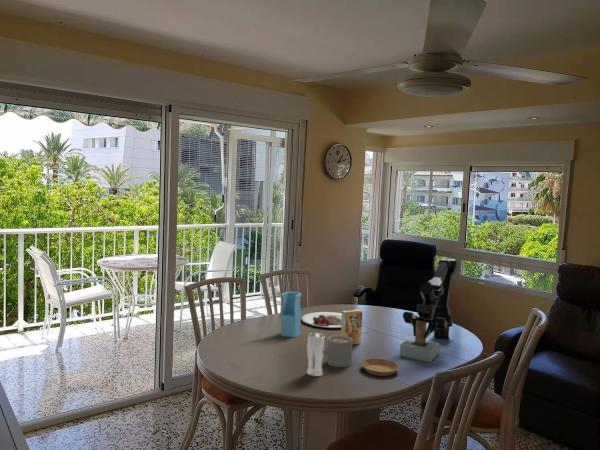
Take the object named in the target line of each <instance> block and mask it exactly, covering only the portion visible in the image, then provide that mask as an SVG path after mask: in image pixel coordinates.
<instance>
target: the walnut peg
mask: <svg viewBox="0 0 600 450" xmlns="http://www.w3.org/2000/svg"><path fill="white" fill-rule="evenodd" d="M427 324H428V323H427V322H426V321H421V320H418V321H416V333H415V336H414V338H415V345H418V346H423V347H425V341H427V338H426V339H425V338H424V336H425V333H426V330H427Z"/></svg>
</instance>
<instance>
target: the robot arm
mask: <svg viewBox="0 0 600 450" xmlns="http://www.w3.org/2000/svg"><path fill="white" fill-rule="evenodd" d="M459 266H460V265H459V261H457V259H455V258H446V257H443V258H441V259H439V260H438V266H437V268H436V270H435V272H434V276H433V278H431V279H429V280H428V281H427V282H426V283H424V284H422V285H421V286H420V287H419V291H420V295H421V297H422V300H423V303H418V304H417V306H416V312H417V315H414V313H413V312H412V311H404V312H403V313H402V318H403V321H404V323H406V324H409V325H410V324H411V326H412V331H413V337H415V333H416V321H418V320H421V321H426V322H427V323H426V324H428V325H427V327H426V333H425V336H424V338H425V339H426V340H427V338H428V337H429V336H430V335H431V334H432V333H433V336H434V337H435V339H445V340H446V339H447V340H448V339H449V340H450V327H453V318H452V314H451V309H450V307H449V302H450V295H451V289H452V281H453V277H454V276H455V275H456V274H457V270H458V269H459ZM437 297H438V298H439V300H438V298H437Z"/></svg>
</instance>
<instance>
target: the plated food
mask: <svg viewBox="0 0 600 450" xmlns="http://www.w3.org/2000/svg"><path fill="white" fill-rule="evenodd" d="M301 320H302V322H304V323H306V324H308V325H310V326H314V327H318V328H324V329H341V322H342V312H333V311H331V312H330V311H318V312H315V311H314V312H310V313H305V314H304V315H302V316H301Z"/></svg>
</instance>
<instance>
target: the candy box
mask: <svg viewBox="0 0 600 450" xmlns="http://www.w3.org/2000/svg"><path fill="white" fill-rule="evenodd" d="M341 314H342V322H341V328H340V335H342V336H348V337H350V338H352V340H353V342H352V345H359V344H360V345H361V344H362V328H363V327H362V325H363V311H362V310H360V309H349V310H342V311H341Z"/></svg>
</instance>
